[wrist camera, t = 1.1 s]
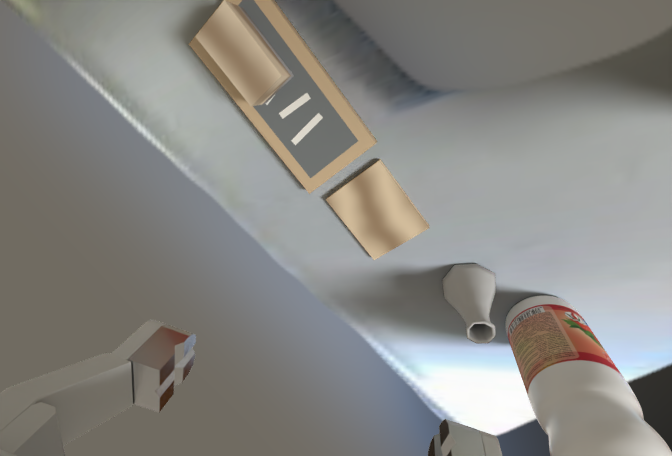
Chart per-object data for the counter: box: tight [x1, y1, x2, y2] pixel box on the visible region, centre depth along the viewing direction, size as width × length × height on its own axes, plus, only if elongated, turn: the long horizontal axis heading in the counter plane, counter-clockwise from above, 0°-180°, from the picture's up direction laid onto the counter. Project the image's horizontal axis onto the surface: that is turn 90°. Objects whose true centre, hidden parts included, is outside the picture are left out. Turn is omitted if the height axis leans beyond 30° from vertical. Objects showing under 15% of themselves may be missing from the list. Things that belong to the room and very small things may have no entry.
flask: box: [442, 264, 496, 343], centre depth 43 cm, size 7×7×10 cm
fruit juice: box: [505, 295, 672, 456], centre depth 35 cm, size 9×9×28 cm
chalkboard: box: [189, 0, 377, 194], centre depth 41 cm, size 11×23×2 cm, turn 39°
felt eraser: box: [195, 0, 294, 106], centre depth 38 cm, size 5×9×4 cm, turn 39°
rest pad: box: [326, 159, 429, 260], centre depth 45 cm, size 9×11×1 cm
